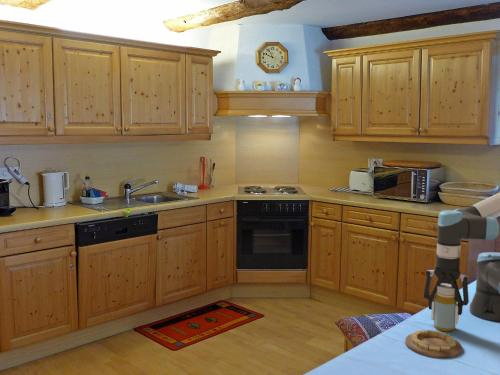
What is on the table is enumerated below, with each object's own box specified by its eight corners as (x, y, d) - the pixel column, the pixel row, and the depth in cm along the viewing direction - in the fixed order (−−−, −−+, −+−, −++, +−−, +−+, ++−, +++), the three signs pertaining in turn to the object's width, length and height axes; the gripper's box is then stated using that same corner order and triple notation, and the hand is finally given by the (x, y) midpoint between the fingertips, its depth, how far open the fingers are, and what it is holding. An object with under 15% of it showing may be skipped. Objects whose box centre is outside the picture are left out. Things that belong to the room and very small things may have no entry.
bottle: (456, 332, 178) (459, 290, 176) (435, 331, 179) (437, 288, 177) (453, 325, 185) (455, 283, 183) (432, 323, 186) (434, 282, 184)
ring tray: (441, 332, 178) (441, 325, 178) (473, 354, 162) (473, 347, 161) (395, 337, 174) (395, 330, 174) (423, 360, 158) (424, 352, 157)
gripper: (415, 254, 181) (412, 318, 184) (478, 263, 170) (473, 330, 173) (421, 250, 187) (418, 312, 190) (481, 257, 177) (477, 323, 180)
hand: (444, 320), depth 182 cm, fingers closed on bottle, 7 cm apart
